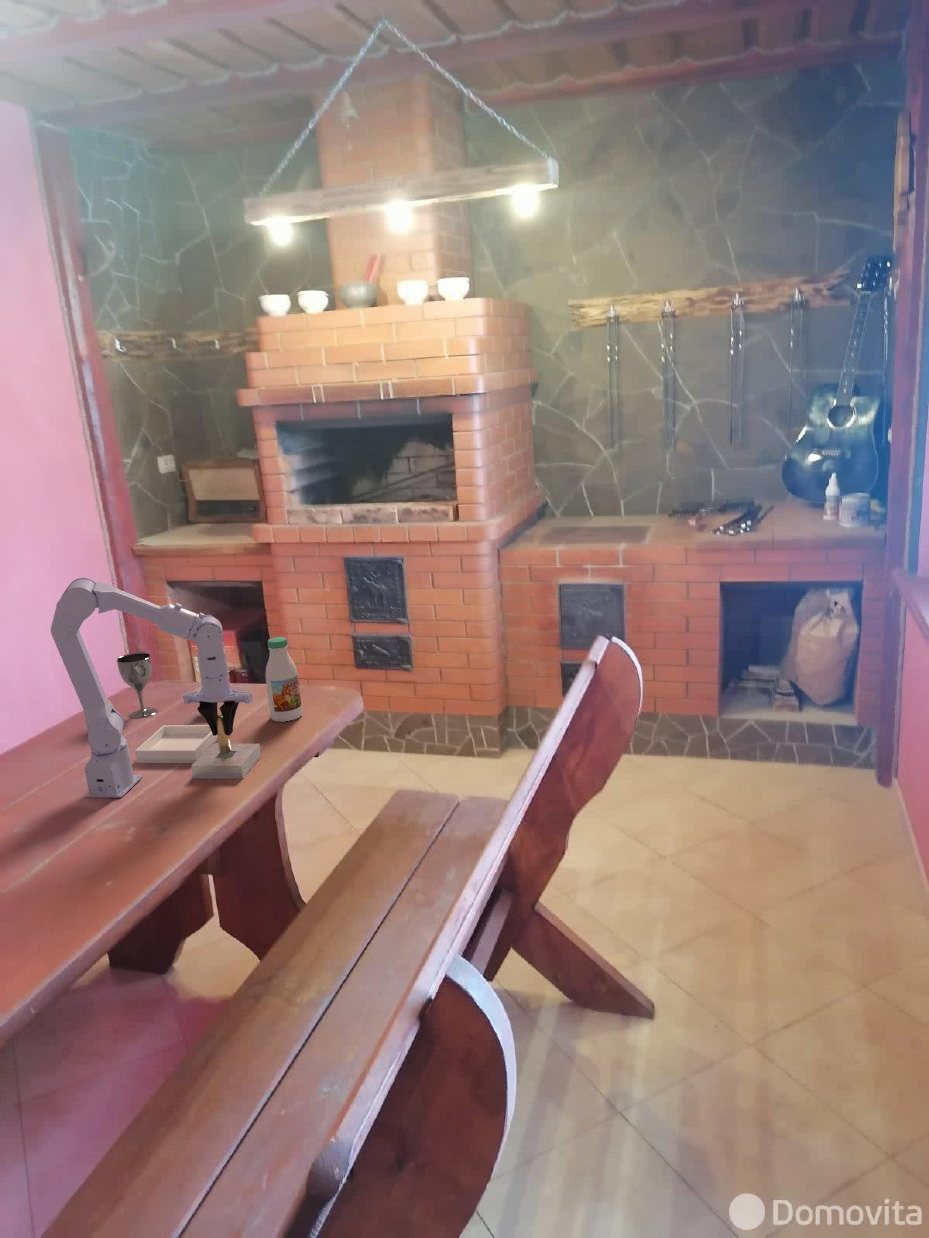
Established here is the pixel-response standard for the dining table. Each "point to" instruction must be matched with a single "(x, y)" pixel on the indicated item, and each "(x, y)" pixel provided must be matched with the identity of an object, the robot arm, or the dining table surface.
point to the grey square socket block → (226, 762)
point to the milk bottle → (282, 682)
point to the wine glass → (137, 678)
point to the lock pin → (222, 735)
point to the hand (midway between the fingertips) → (222, 733)
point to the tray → (176, 744)
